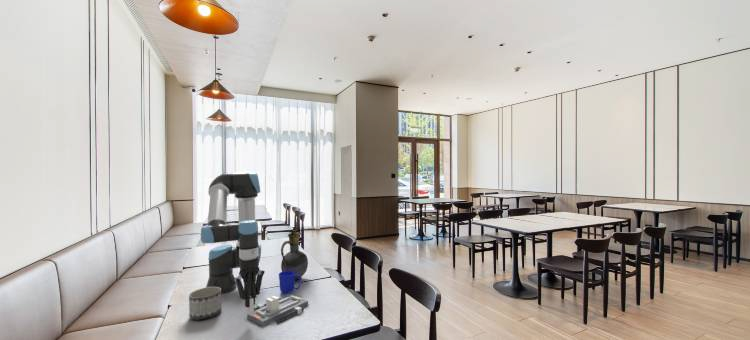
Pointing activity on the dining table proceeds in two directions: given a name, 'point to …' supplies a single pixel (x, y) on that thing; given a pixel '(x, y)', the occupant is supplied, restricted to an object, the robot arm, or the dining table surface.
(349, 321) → the dining table surface
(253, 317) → the panel
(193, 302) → the planter
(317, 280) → the dining table surface
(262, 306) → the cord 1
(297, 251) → the pitcher
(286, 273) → the mug
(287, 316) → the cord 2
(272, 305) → the toggle
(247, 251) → the robot arm
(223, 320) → the dining table surface
